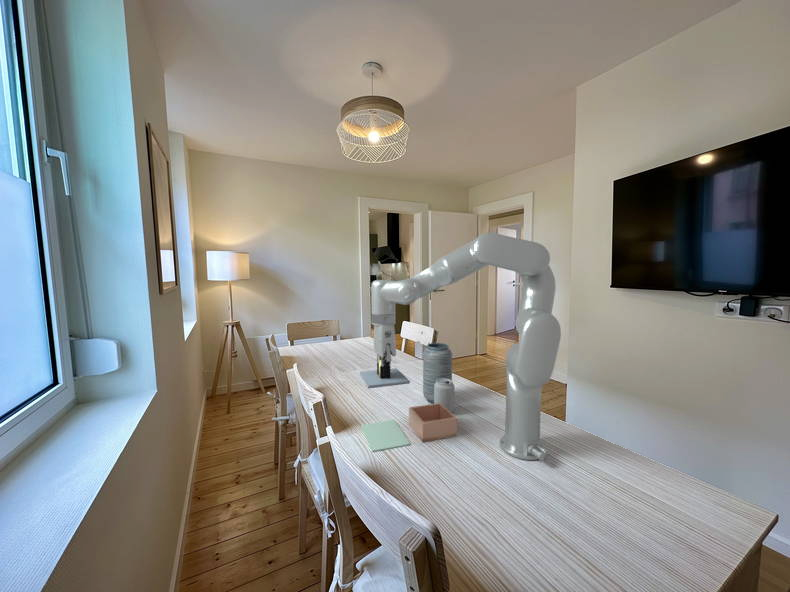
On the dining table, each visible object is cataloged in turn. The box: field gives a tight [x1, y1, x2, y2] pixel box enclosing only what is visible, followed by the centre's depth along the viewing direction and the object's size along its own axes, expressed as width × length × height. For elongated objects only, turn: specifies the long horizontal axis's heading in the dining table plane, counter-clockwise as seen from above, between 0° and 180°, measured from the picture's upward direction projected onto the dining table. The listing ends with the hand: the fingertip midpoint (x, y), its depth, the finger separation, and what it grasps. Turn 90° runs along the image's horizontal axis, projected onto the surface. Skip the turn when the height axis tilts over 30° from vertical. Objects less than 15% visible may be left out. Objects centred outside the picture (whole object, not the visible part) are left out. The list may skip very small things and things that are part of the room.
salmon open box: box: [408, 403, 458, 443], centre depth 102 cm, size 12×12×6 cm
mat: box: [360, 419, 412, 453], centre depth 99 cm, size 16×12×1 cm
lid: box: [359, 360, 411, 389], centre depth 98 cm, size 13×13×6 cm
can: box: [434, 378, 455, 414], centre depth 115 cm, size 8×8×12 cm
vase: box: [422, 342, 453, 404], centre depth 125 cm, size 12×12×23 cm
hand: (383, 375), depth 98 cm, fingers closed on lid, 3 cm apart
